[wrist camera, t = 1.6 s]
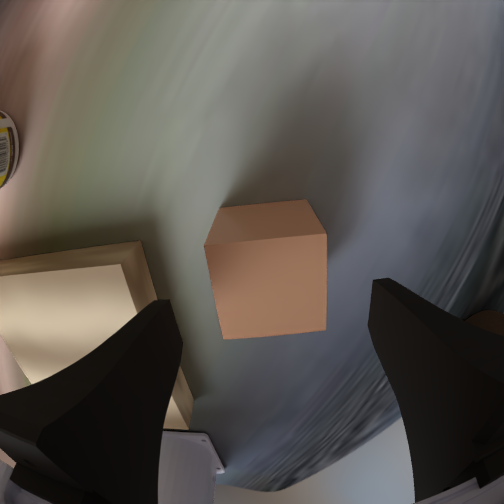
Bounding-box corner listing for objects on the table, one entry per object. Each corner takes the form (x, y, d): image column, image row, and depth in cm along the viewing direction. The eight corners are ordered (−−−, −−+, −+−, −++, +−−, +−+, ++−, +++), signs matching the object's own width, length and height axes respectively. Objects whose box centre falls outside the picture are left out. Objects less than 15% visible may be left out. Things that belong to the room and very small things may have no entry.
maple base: (194, 400, 22) (188, 429, 19) (62, 388, 23) (51, 409, 20) (140, 240, 16) (120, 264, 14) (-4, 261, 17) (-26, 279, 14)
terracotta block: (309, 275, 17) (325, 330, 13) (231, 282, 17) (223, 339, 13) (305, 198, 15) (326, 233, 11) (219, 207, 16) (203, 245, 11)
